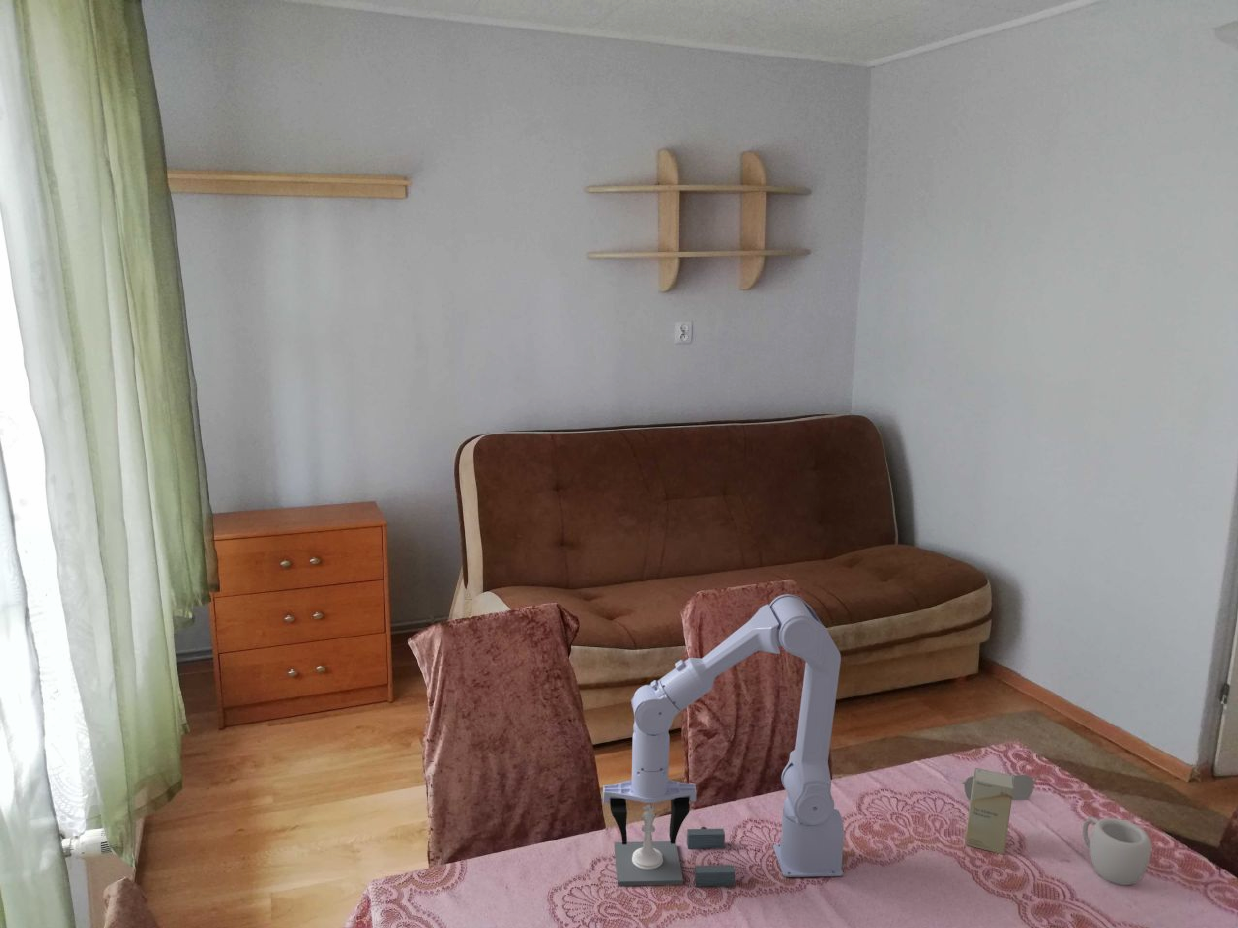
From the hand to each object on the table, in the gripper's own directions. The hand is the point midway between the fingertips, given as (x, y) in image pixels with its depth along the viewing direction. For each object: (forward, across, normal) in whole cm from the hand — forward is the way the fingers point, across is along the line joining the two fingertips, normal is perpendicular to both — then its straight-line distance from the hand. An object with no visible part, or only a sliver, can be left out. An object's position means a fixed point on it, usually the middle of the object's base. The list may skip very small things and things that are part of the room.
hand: (648, 840), depth 150 cm
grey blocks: (+4, -10, 0) cm, 11 cm away
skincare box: (+5, -57, -4) cm, 57 cm away
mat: (+4, 0, 0) cm, 4 cm away
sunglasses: (+5, -65, -21) cm, 68 cm away
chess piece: (+4, 0, 0) cm, 4 cm away
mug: (+5, -74, +3) cm, 74 cm away
